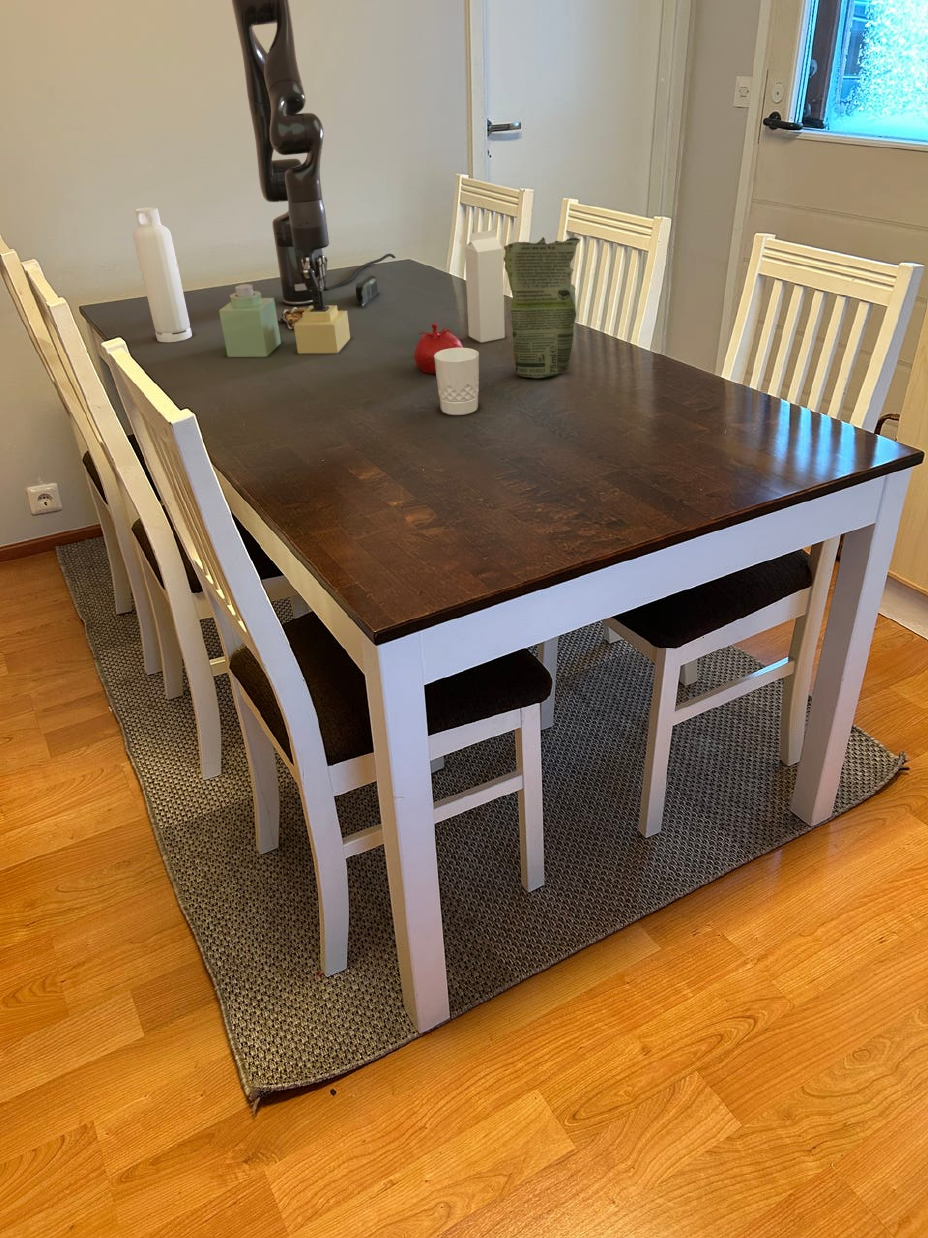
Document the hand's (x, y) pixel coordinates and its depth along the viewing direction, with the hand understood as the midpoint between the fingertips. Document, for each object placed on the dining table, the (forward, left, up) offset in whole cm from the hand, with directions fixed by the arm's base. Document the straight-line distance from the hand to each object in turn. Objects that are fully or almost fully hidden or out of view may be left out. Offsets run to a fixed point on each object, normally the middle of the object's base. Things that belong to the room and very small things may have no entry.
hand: (319, 307), depth 202 cm
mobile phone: (-32, -22, -8) cm, 40 cm away
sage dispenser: (+11, -11, -8) cm, 18 cm away
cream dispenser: (0, 0, -8) cm, 8 cm away
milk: (-25, +26, -8) cm, 37 cm away
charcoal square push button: (0, 0, -2) cm, 2 cm away
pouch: (-14, +51, -8) cm, 54 cm away
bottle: (+16, -36, -8) cm, 40 cm away
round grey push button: (+11, -11, +3) cm, 16 cm away
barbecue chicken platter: (-8, -19, -8) cm, 22 cm away
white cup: (+11, +52, -8) cm, 54 cm away
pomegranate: (-3, +33, -8) cm, 34 cm away
